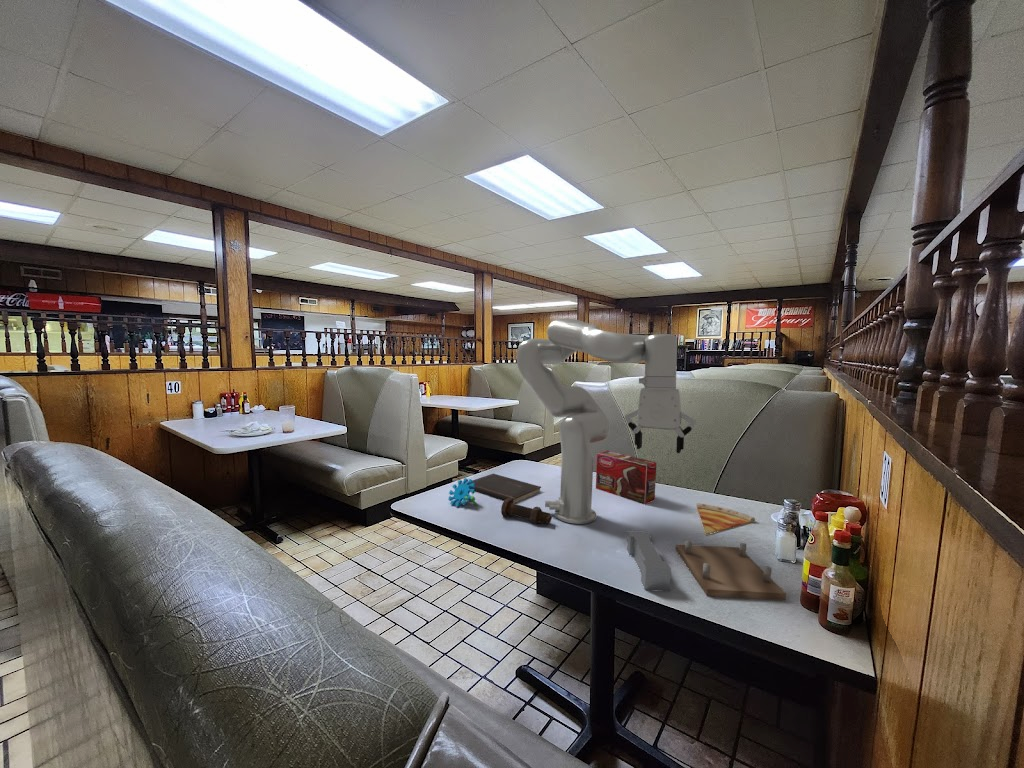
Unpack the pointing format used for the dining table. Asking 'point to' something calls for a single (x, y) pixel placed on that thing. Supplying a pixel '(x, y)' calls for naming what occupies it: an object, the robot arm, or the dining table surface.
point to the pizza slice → (721, 518)
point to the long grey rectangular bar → (648, 561)
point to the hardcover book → (504, 487)
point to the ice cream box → (626, 476)
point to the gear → (462, 492)
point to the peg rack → (729, 572)
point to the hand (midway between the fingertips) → (658, 450)
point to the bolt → (525, 512)
